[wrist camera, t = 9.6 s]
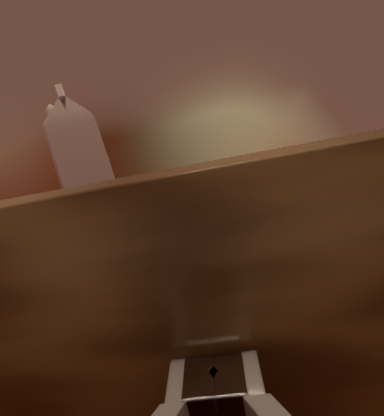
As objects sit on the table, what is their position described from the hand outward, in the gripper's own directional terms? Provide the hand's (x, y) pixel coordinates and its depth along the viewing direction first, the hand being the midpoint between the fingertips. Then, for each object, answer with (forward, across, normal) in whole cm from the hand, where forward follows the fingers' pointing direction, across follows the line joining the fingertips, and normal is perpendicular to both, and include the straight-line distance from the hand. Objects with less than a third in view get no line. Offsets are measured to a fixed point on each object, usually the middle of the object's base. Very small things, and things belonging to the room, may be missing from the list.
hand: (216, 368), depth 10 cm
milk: (+59, +30, +6) cm, 67 cm away
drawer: (+7, 0, +6) cm, 9 cm away
